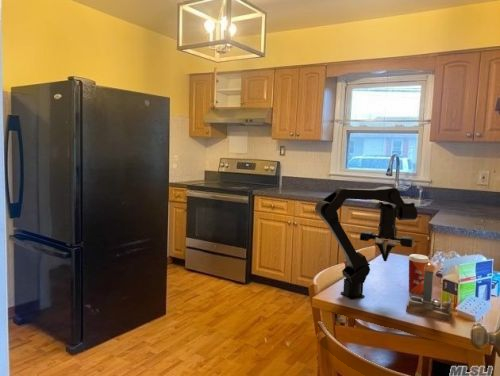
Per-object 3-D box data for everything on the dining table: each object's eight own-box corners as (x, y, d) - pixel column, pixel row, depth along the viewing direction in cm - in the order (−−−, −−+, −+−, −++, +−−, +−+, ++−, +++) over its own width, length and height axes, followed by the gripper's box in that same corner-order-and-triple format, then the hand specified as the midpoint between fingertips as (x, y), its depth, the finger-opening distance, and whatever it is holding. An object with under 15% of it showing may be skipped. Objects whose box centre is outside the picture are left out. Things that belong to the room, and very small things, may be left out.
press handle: (421, 305, 130) (424, 264, 129) (422, 302, 133) (425, 261, 131) (439, 309, 127) (443, 267, 126) (440, 306, 130) (444, 265, 128)
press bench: (406, 311, 131) (407, 295, 130) (410, 303, 137) (411, 288, 137) (449, 321, 124) (450, 304, 123) (451, 312, 130) (452, 296, 130)
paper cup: (417, 296, 145) (419, 260, 143) (401, 289, 152) (403, 254, 150) (432, 293, 148) (434, 258, 146) (416, 286, 155) (418, 252, 153)
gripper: (417, 220, 145) (415, 260, 146) (368, 214, 154) (366, 252, 156) (413, 224, 135) (410, 267, 137) (360, 218, 145) (358, 258, 147)
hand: (385, 261), depth 144 cm, fingers closed
